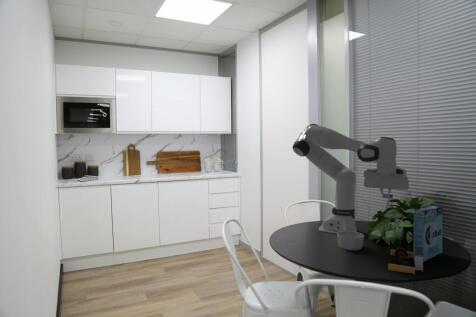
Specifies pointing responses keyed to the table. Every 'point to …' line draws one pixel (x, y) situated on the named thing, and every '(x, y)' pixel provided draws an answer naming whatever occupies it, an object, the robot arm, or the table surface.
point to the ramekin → (350, 240)
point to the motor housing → (406, 269)
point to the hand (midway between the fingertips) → (385, 197)
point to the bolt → (402, 256)
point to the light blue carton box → (428, 231)
